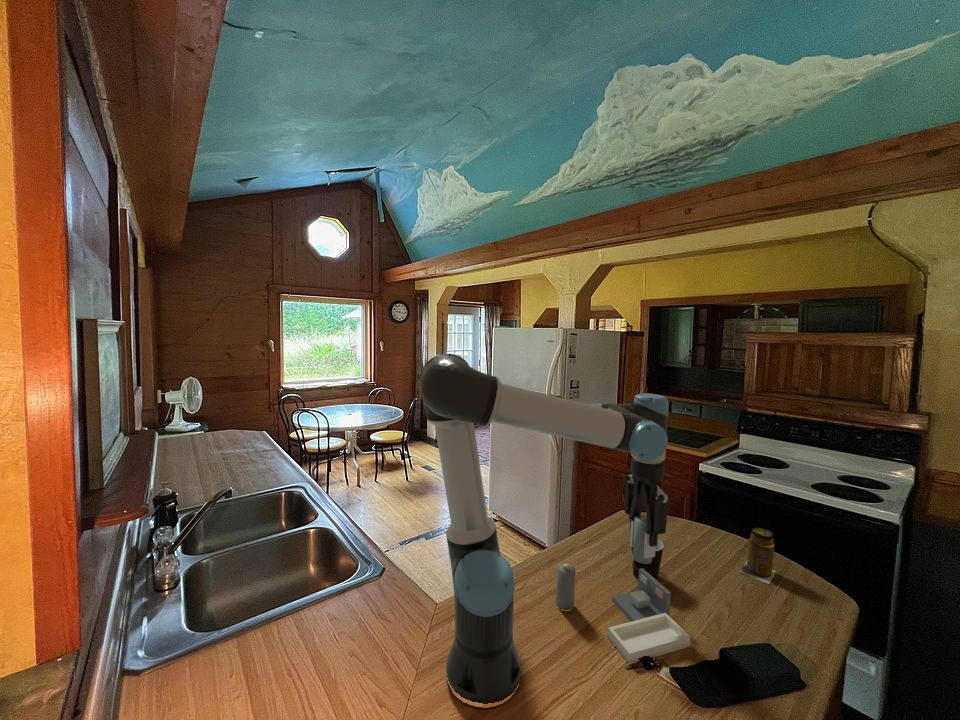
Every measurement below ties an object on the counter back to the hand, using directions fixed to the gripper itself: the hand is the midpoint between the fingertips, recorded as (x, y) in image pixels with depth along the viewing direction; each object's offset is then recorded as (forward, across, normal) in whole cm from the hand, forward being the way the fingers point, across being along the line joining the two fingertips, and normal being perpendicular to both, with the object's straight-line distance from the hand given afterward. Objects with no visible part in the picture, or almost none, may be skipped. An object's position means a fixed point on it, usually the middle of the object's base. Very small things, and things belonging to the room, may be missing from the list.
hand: (642, 550), depth 101 cm
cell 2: (+2, 0, 0) cm, 2 cm away
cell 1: (+16, +7, +17) cm, 24 cm away
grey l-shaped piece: (+16, 0, 0) cm, 16 cm away
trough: (+16, -9, +5) cm, 19 cm away
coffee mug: (+16, +12, -12) cm, 23 cm away
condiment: (+16, +3, -43) cm, 46 cm away
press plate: (+14, 0, 0) cm, 14 cm away
